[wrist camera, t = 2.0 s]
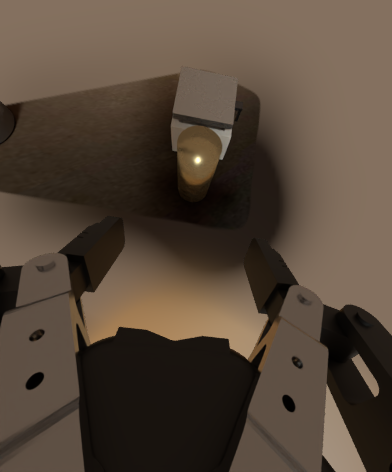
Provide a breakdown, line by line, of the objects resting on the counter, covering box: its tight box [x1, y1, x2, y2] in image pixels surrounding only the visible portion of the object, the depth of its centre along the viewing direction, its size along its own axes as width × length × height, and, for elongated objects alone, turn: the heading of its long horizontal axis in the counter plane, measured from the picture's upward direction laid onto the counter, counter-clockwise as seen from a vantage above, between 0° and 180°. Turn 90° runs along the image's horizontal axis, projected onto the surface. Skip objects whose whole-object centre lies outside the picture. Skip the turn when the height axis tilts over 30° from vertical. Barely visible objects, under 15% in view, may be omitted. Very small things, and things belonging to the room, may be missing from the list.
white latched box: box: [171, 117, 232, 160], centre depth 28 cm, size 9×9×5 cm
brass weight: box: [177, 126, 222, 202], centre depth 23 cm, size 5×5×10 cm
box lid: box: [173, 66, 243, 129], centre depth 25 cm, size 10×8×4 cm
